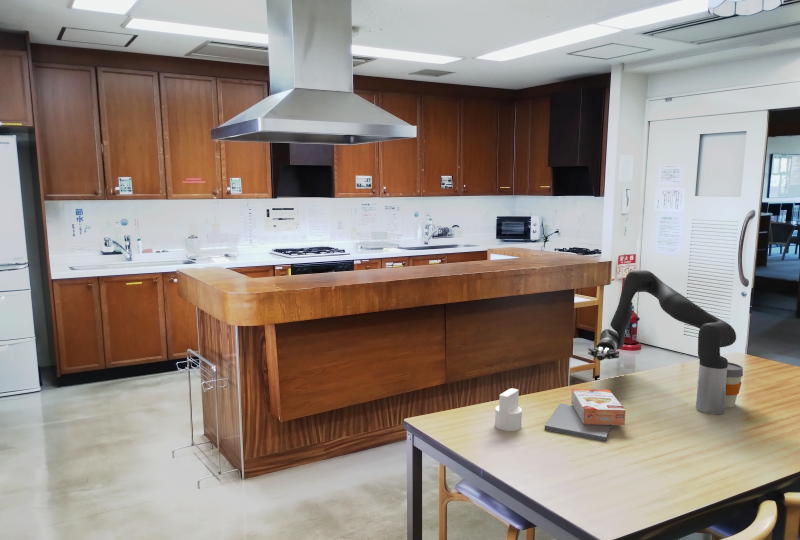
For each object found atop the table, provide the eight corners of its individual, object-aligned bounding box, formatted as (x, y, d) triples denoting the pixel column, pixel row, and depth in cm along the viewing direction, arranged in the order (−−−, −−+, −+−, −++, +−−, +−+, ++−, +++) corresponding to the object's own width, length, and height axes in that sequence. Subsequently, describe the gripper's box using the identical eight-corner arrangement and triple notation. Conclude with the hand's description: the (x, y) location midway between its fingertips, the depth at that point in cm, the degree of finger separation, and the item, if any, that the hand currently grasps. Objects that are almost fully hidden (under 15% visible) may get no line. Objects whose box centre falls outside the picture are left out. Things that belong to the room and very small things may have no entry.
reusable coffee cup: (746, 409, 220) (750, 370, 218) (712, 408, 221) (716, 369, 219) (728, 397, 233) (732, 361, 231) (696, 397, 233) (700, 360, 231)
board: (615, 416, 212) (616, 413, 212) (605, 441, 192) (606, 437, 191) (559, 407, 221) (559, 403, 221) (544, 429, 201) (544, 425, 201)
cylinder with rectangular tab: (514, 433, 198) (515, 398, 196) (490, 426, 203) (491, 393, 202) (525, 424, 205) (527, 391, 203) (502, 418, 210) (503, 386, 209)
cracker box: (609, 388, 220) (626, 409, 199) (608, 403, 221) (625, 426, 200) (571, 387, 221) (584, 408, 200) (570, 402, 222) (583, 425, 201)
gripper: (591, 337, 254) (583, 346, 239) (623, 341, 248) (618, 351, 233) (590, 354, 256) (582, 364, 240) (622, 358, 250) (616, 369, 234)
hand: (600, 358), depth 237 cm, fingers closed
